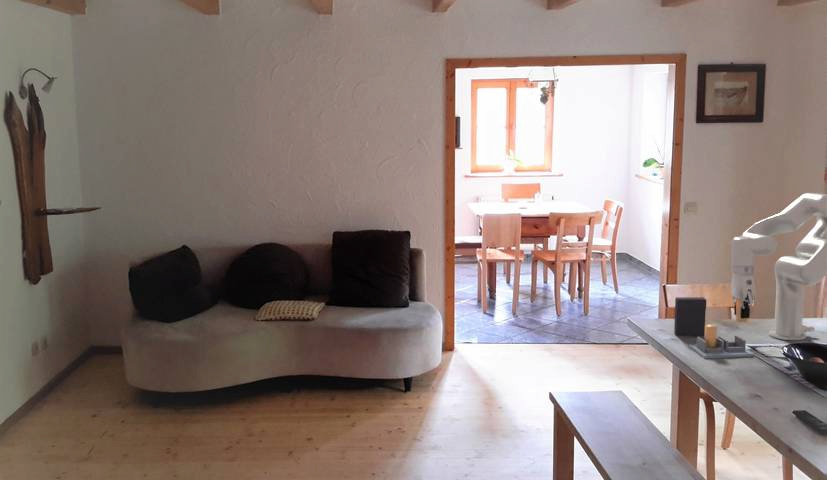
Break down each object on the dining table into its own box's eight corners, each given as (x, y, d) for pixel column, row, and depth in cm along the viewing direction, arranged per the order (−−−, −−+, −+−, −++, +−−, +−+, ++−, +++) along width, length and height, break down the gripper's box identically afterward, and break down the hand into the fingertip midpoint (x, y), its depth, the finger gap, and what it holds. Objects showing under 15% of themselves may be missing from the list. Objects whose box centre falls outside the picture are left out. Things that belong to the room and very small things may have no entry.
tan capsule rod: (744, 318, 268) (744, 296, 266) (749, 321, 264) (750, 298, 263) (734, 319, 268) (734, 296, 266) (739, 322, 264) (739, 299, 262)
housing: (735, 345, 263) (736, 319, 262) (753, 356, 251) (755, 329, 249) (688, 347, 263) (689, 321, 261) (704, 358, 250) (705, 331, 248)
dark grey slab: (701, 333, 280) (703, 296, 278) (705, 336, 276) (706, 299, 273) (673, 333, 281) (674, 296, 279) (676, 336, 277) (677, 299, 274)
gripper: (764, 273, 255) (763, 321, 258) (741, 264, 271) (740, 309, 274) (744, 274, 254) (743, 323, 257) (722, 265, 271) (721, 311, 274)
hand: (741, 315), depth 266 cm, fingers closed on tan capsule rod, 4 cm apart
